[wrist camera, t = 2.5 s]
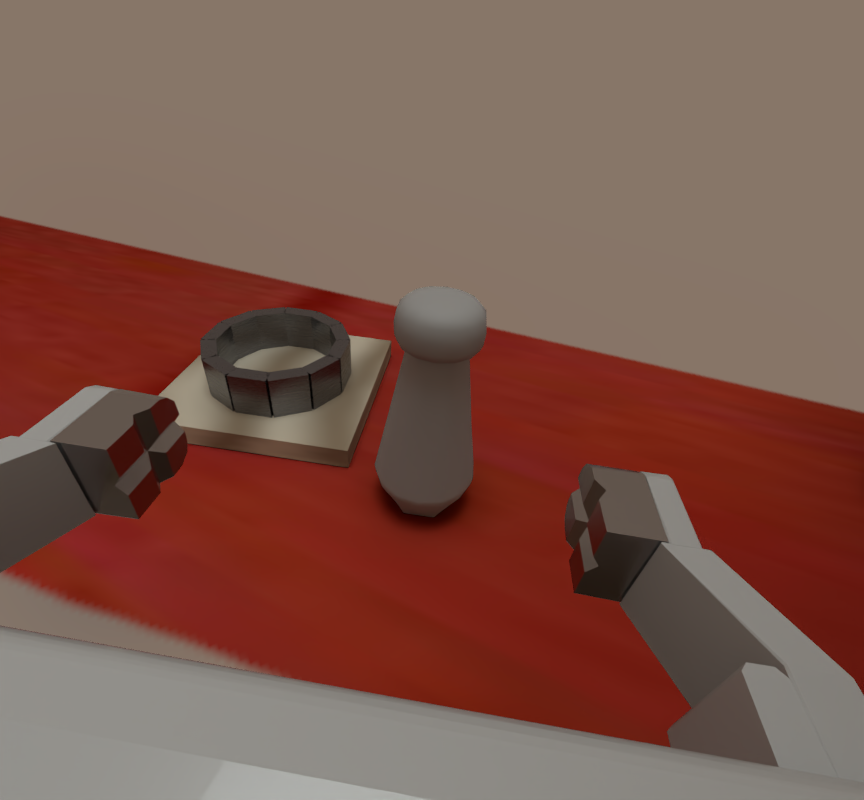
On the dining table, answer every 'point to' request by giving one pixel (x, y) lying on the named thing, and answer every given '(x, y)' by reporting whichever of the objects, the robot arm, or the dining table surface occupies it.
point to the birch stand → (292, 434)
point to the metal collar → (281, 387)
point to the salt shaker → (432, 401)
